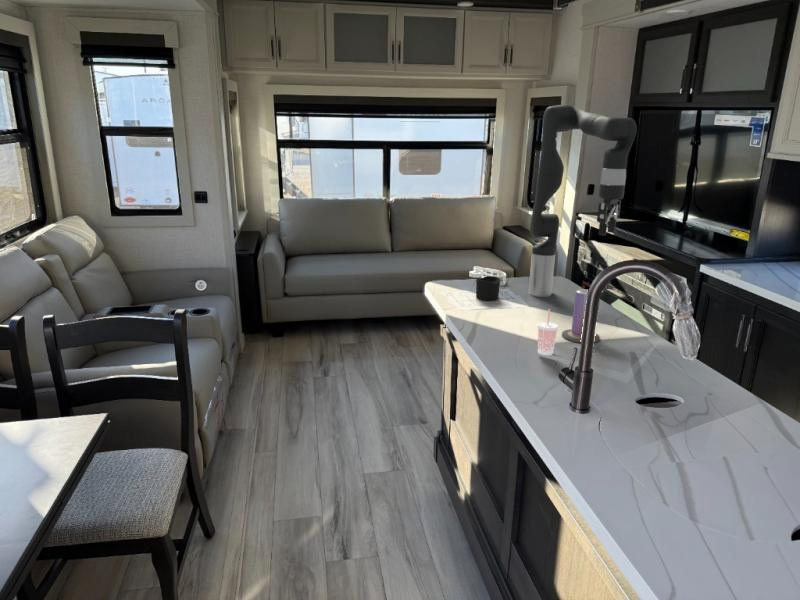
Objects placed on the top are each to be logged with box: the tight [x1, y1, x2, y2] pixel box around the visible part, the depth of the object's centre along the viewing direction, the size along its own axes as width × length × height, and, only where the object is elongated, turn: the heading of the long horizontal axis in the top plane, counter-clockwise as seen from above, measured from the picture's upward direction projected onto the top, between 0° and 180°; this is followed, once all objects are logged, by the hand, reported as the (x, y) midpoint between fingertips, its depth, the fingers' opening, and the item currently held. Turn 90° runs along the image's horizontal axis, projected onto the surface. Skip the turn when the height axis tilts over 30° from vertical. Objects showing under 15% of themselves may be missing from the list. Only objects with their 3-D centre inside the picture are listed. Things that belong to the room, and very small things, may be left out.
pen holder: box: [475, 276, 501, 302], centre depth 224 cm, size 9×9×10 cm
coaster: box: [561, 328, 601, 344], centre depth 187 cm, size 12×12×1 cm
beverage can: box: [571, 288, 589, 337], centre depth 185 cm, size 6×6×15 cm
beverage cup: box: [537, 308, 559, 356], centre depth 171 cm, size 6×6×14 cm
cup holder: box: [468, 265, 507, 285], centre depth 250 cm, size 20×11×7 cm, turn 22°
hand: (606, 233), depth 182 cm, fingers open, 8 cm apart
